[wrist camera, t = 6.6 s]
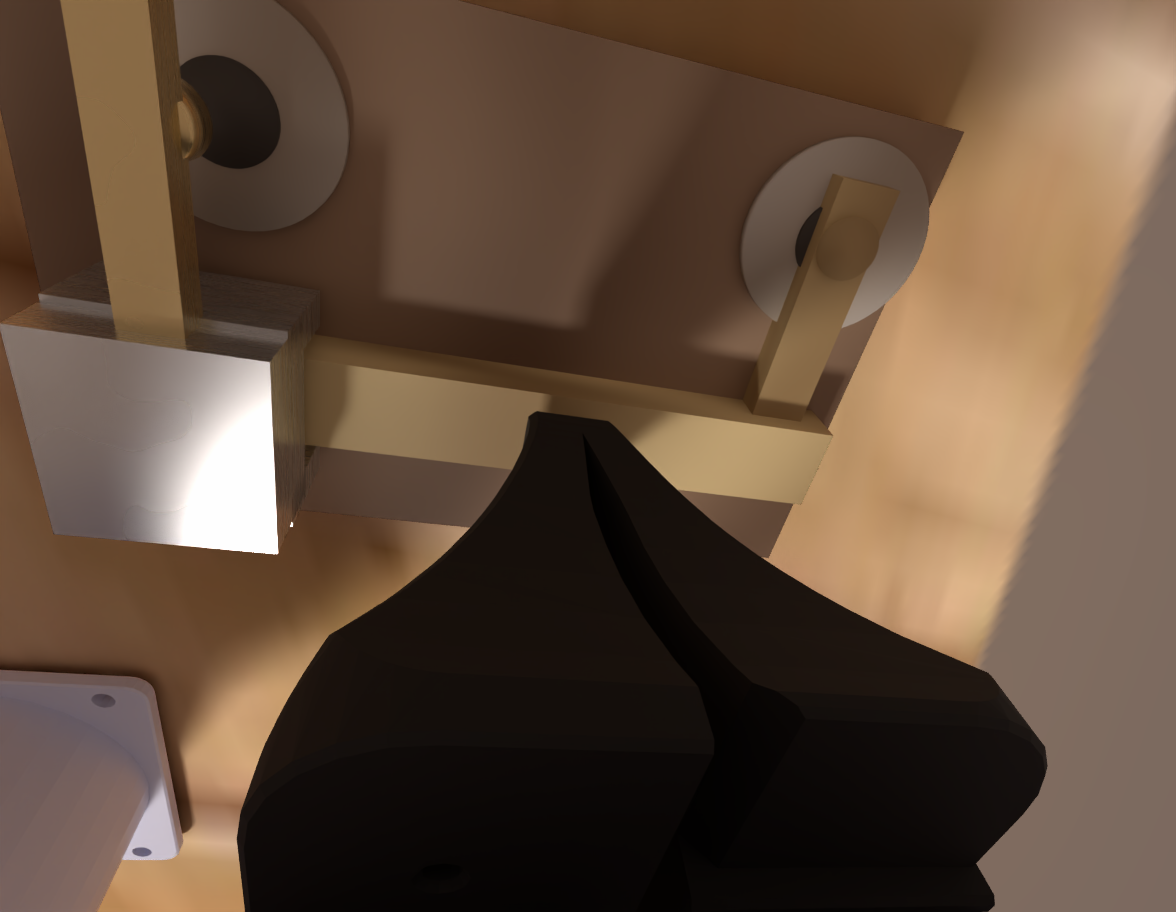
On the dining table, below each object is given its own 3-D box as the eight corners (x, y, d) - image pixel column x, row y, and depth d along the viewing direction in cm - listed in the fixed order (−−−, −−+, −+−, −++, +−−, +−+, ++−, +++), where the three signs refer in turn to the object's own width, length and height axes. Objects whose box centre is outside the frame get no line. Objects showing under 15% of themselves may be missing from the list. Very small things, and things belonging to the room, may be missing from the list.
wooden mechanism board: (116, 454, 13) (53, 520, 11) (12, -113, 9) (-125, -157, 7) (756, 526, 16) (788, 588, 14) (928, 125, 11) (1010, 140, 10)
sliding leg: (141, 446, 12) (55, 539, 9) (62, -45, 8) (-107, -81, 6) (319, 466, 12) (277, 559, 10) (320, 18, 9) (256, 7, 6)
